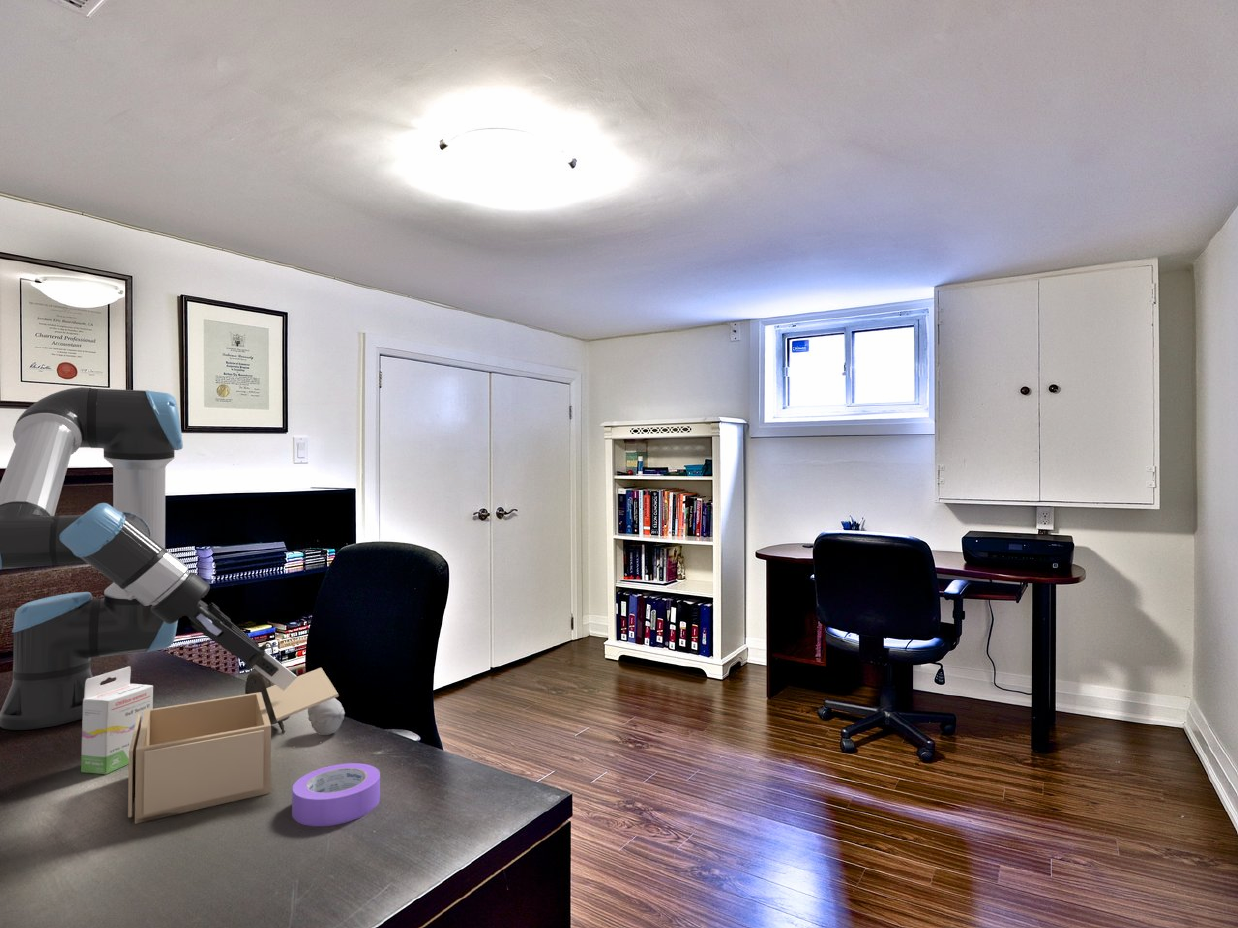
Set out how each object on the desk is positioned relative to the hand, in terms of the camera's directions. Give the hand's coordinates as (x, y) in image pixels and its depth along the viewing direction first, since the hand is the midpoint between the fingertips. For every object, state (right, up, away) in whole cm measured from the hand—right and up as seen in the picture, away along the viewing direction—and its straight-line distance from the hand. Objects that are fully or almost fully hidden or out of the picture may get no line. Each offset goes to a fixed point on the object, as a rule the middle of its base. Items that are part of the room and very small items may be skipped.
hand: (289, 682), depth 109 cm
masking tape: (+13, -14, -13) cm, 23 cm away
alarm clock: (-12, -14, +15) cm, 24 cm away
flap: (-3, -3, -2) cm, 4 cm away
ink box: (-29, -14, +1) cm, 32 cm away
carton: (-10, -13, -6) cm, 18 cm away
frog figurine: (0, -14, +13) cm, 19 cm away
